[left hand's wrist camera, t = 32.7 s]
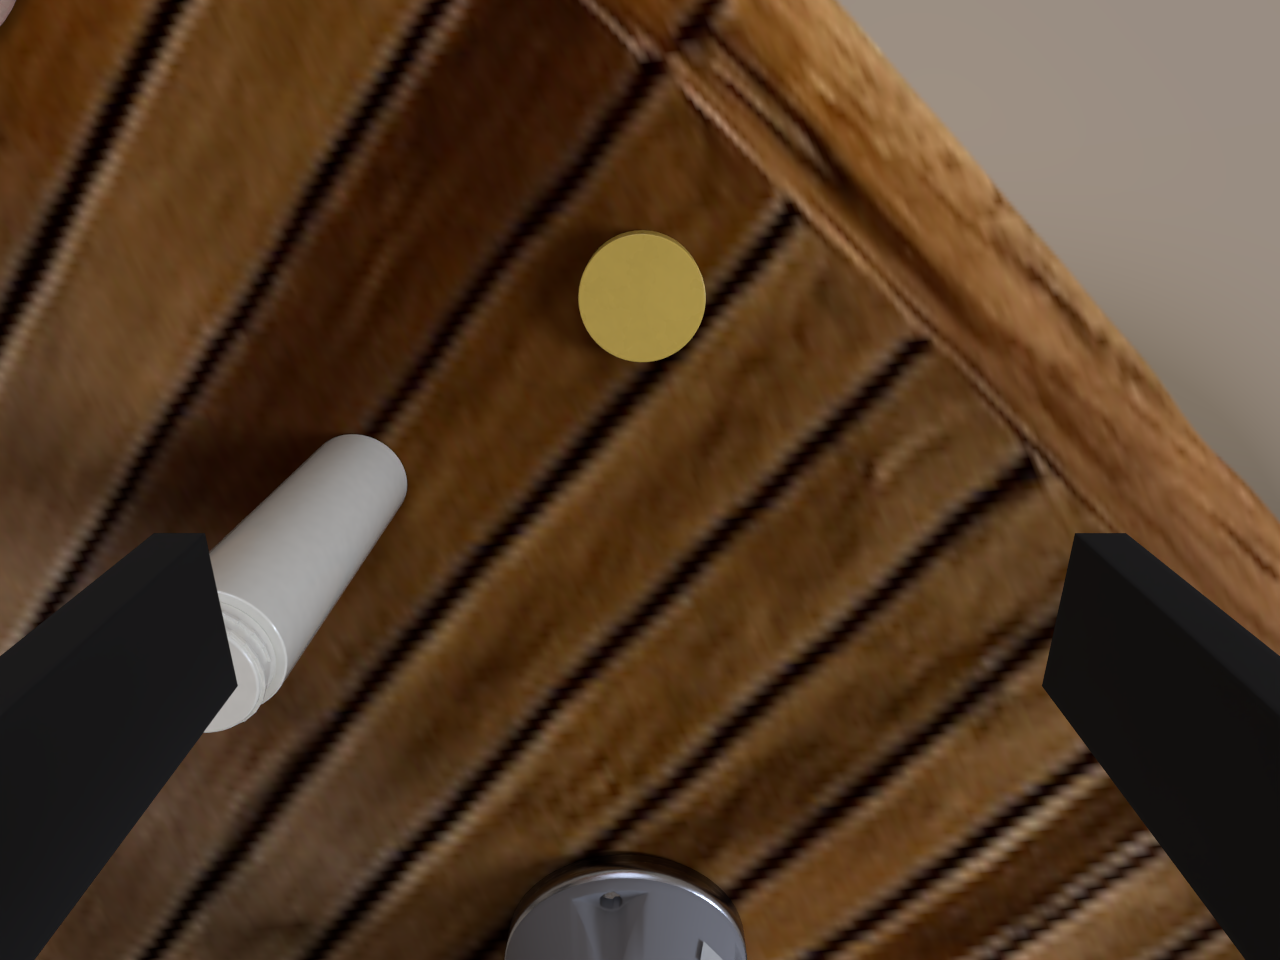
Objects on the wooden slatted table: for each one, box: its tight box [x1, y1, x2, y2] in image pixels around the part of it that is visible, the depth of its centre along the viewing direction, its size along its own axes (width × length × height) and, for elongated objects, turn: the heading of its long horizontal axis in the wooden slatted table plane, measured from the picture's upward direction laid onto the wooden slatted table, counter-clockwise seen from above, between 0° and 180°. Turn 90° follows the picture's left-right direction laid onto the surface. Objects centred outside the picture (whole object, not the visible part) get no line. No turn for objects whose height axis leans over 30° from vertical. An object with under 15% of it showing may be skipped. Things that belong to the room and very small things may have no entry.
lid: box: [578, 230, 706, 362], centre depth 38 cm, size 6×6×2 cm
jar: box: [203, 434, 407, 733], centre depth 34 cm, size 5×5×17 cm
